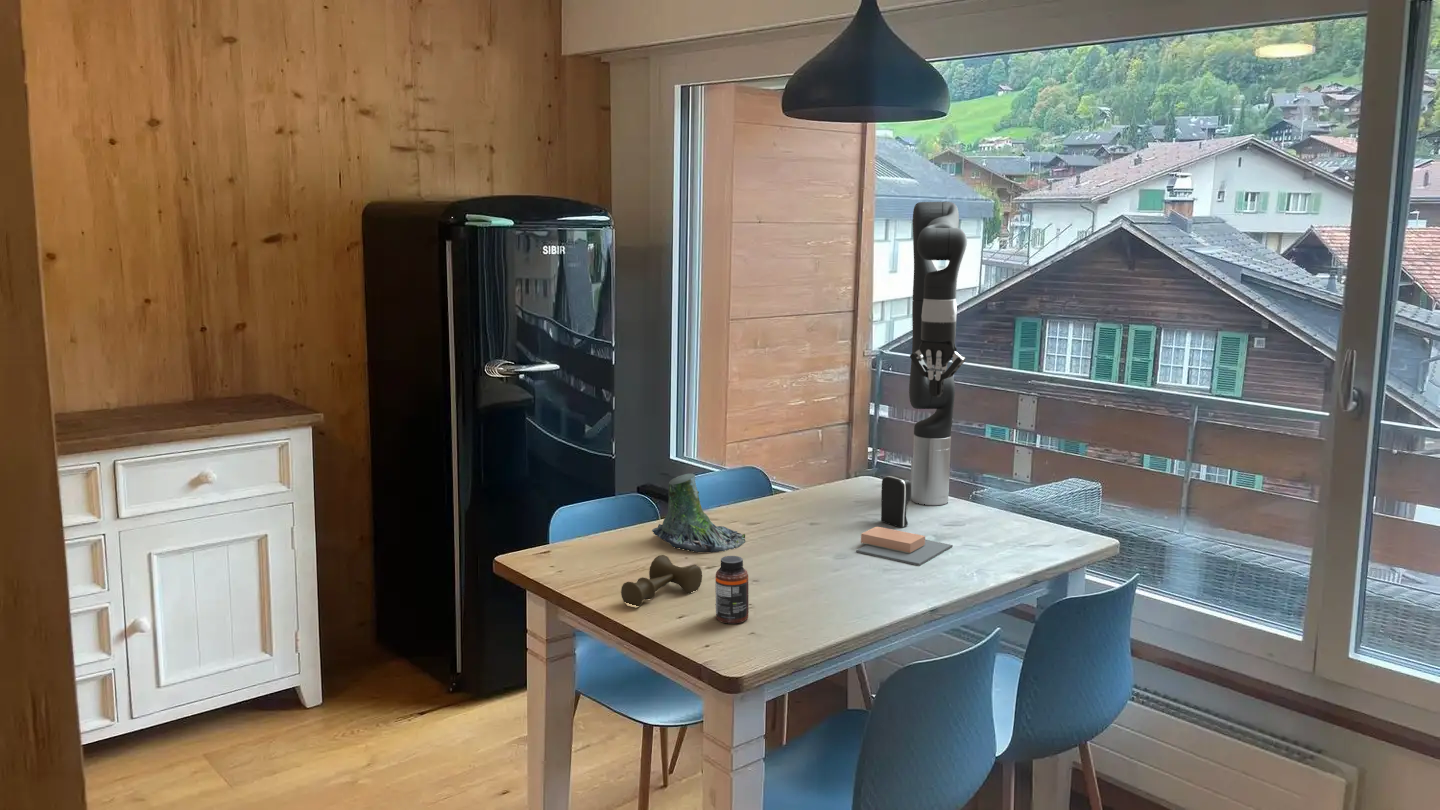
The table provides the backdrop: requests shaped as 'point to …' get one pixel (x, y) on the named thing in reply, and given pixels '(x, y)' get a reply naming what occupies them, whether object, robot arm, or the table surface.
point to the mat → (914, 557)
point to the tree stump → (693, 521)
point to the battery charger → (895, 500)
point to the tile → (893, 539)
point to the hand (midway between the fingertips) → (935, 396)
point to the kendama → (661, 580)
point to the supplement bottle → (732, 591)
